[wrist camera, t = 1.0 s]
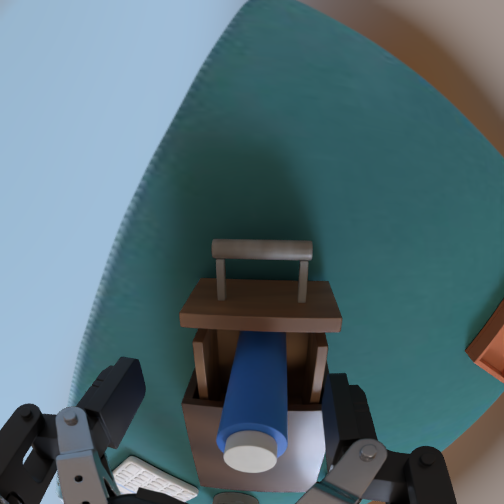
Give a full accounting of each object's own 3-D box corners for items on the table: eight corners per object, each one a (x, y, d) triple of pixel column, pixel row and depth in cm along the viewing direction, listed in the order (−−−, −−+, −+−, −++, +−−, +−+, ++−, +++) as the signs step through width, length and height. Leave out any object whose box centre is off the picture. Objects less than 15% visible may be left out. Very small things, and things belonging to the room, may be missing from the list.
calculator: (201, 488, 41) (199, 496, 39) (156, 509, 46) (154, 516, 44) (131, 452, 39) (127, 461, 37) (100, 480, 45) (97, 487, 43)
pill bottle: (239, 313, 27) (209, 436, 14) (287, 315, 27) (290, 440, 14) (240, 352, 29) (215, 474, 15) (284, 353, 28) (284, 478, 15)
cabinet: (202, 347, 31) (180, 403, 23) (324, 351, 30) (336, 410, 22) (212, 434, 35) (200, 486, 27) (309, 439, 35) (313, 491, 26)
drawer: (197, 226, 27) (172, 248, 20) (332, 228, 26) (350, 252, 19) (210, 390, 32) (197, 435, 25) (314, 394, 31) (319, 440, 24)
